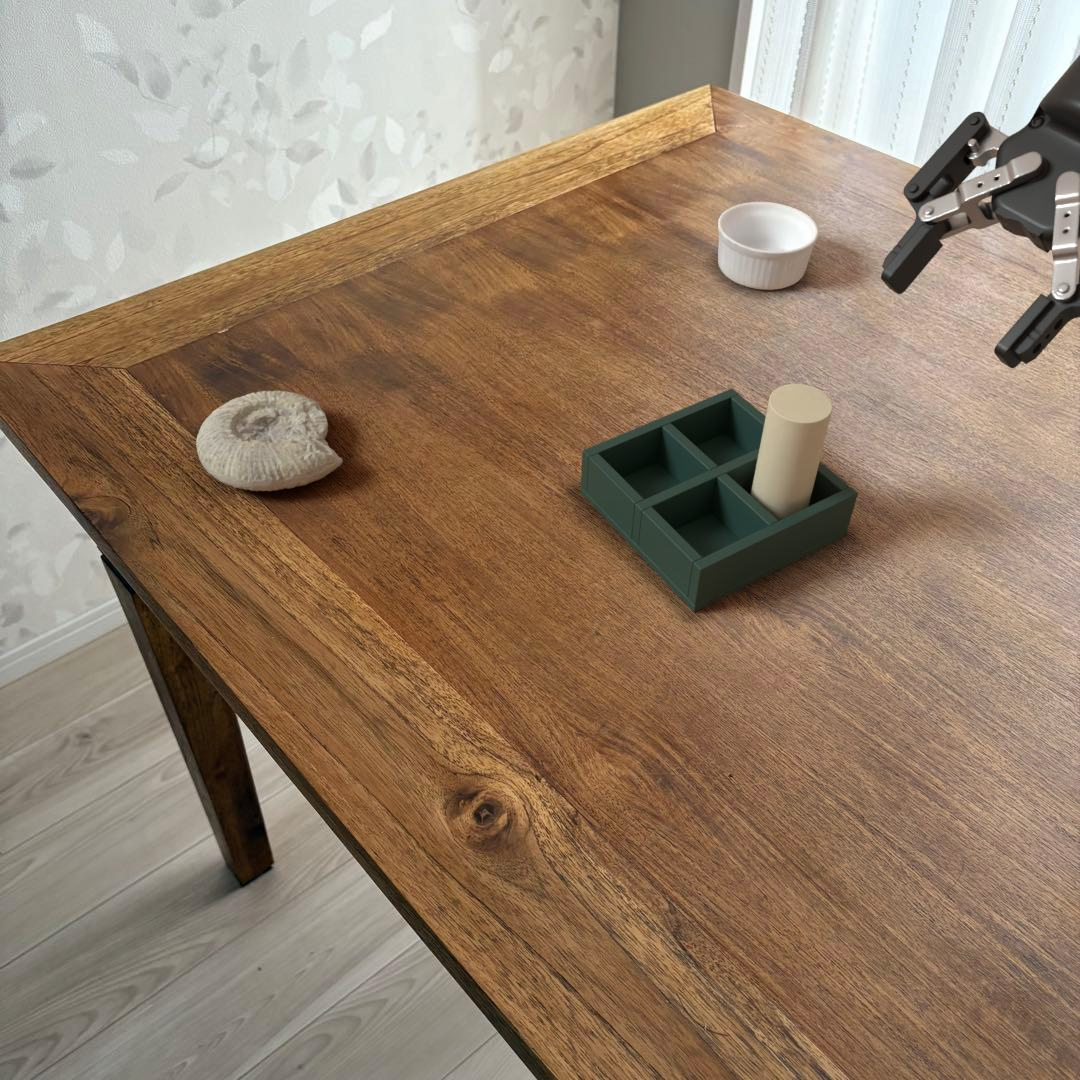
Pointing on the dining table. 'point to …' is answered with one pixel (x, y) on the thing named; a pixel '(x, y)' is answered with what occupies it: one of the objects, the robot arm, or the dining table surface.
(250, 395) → the fossil
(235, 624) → the dining table surface
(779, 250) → the ramekin
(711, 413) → the grid
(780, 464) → the cylinder
